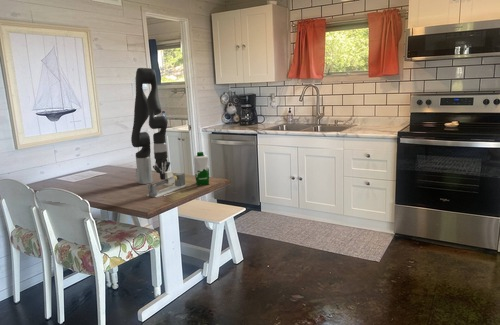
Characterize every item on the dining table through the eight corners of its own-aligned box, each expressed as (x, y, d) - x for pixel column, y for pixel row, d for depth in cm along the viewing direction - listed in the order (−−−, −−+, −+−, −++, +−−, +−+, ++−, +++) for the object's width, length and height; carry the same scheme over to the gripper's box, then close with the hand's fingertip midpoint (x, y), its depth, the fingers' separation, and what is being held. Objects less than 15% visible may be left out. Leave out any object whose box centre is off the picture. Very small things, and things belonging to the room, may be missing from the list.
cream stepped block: (169, 185, 234) (168, 173, 232) (163, 184, 236) (162, 172, 234) (175, 183, 238) (174, 171, 236) (169, 182, 240) (168, 170, 239)
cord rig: (157, 197, 223) (155, 184, 221) (146, 196, 227) (145, 182, 225) (187, 186, 245) (186, 173, 244) (177, 184, 249) (176, 172, 248)
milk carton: (208, 181, 255) (206, 151, 250) (210, 184, 246) (208, 153, 242) (194, 182, 252) (192, 152, 248) (196, 186, 244) (194, 154, 240)
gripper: (163, 148, 236) (165, 176, 239) (147, 152, 225) (150, 181, 228) (173, 149, 232) (175, 177, 235) (157, 153, 221) (159, 182, 224)
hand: (162, 179), depth 232 cm, fingers closed
